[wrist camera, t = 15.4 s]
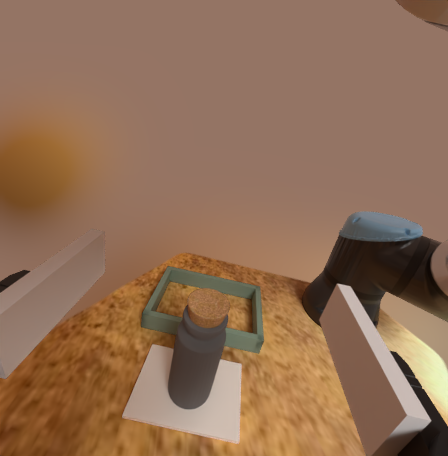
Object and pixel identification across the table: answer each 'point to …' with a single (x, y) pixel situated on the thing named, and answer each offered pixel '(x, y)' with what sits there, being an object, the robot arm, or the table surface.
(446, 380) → the table surface
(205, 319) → the bottle
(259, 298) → the green rectangular frame
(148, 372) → the tile
